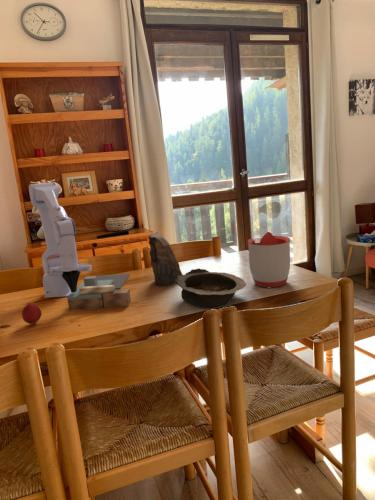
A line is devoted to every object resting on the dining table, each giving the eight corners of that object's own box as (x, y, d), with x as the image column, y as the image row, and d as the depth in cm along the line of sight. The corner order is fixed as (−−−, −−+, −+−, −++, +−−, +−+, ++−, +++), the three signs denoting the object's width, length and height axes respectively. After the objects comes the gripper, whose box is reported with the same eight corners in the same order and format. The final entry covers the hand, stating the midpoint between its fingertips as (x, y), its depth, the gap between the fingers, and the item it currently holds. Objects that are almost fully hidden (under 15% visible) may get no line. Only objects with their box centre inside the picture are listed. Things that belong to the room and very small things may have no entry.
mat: (83, 291, 158) (83, 290, 158) (97, 276, 178) (97, 275, 178) (120, 288, 157) (120, 288, 157) (130, 274, 177) (130, 273, 177)
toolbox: (69, 310, 138) (67, 297, 137) (85, 293, 155) (83, 281, 154) (128, 307, 136) (126, 293, 135) (137, 290, 154) (136, 278, 153)
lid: (67, 299, 137) (65, 286, 136) (83, 283, 155) (81, 271, 153) (101, 297, 136) (99, 284, 135) (113, 281, 154) (112, 269, 153)
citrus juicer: (271, 273, 161) (269, 225, 157) (300, 284, 146) (299, 231, 141) (239, 281, 155) (236, 231, 150) (265, 293, 139) (263, 237, 135)
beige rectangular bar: (80, 293, 138) (79, 288, 138) (81, 292, 140) (81, 286, 140) (113, 292, 138) (112, 286, 137) (114, 290, 139) (114, 284, 139)
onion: (31, 329, 124) (27, 305, 122) (20, 326, 127) (15, 303, 125) (46, 322, 129) (42, 299, 127) (35, 319, 132) (31, 297, 130)
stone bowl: (164, 296, 143) (163, 272, 142) (224, 288, 153) (224, 265, 151) (191, 318, 121) (191, 289, 119) (260, 306, 131) (261, 279, 129)
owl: (161, 288, 154) (156, 238, 150) (142, 282, 163) (136, 235, 159) (184, 280, 162) (180, 232, 158) (165, 275, 171) (160, 230, 167)
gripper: (43, 258, 133) (49, 296, 136) (85, 255, 132) (90, 294, 135) (51, 253, 140) (57, 289, 143) (91, 251, 139) (96, 287, 142)
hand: (74, 291), depth 139 cm, fingers closed
